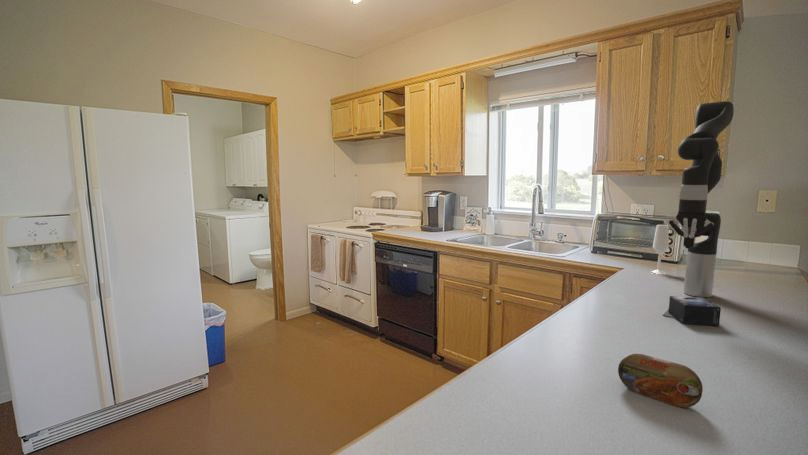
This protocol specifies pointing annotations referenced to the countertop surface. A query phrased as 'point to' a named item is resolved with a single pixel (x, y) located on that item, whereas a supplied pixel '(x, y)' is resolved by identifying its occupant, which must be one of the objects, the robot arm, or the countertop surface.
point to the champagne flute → (660, 244)
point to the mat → (668, 314)
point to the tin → (661, 380)
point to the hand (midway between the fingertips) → (688, 248)
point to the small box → (694, 310)
